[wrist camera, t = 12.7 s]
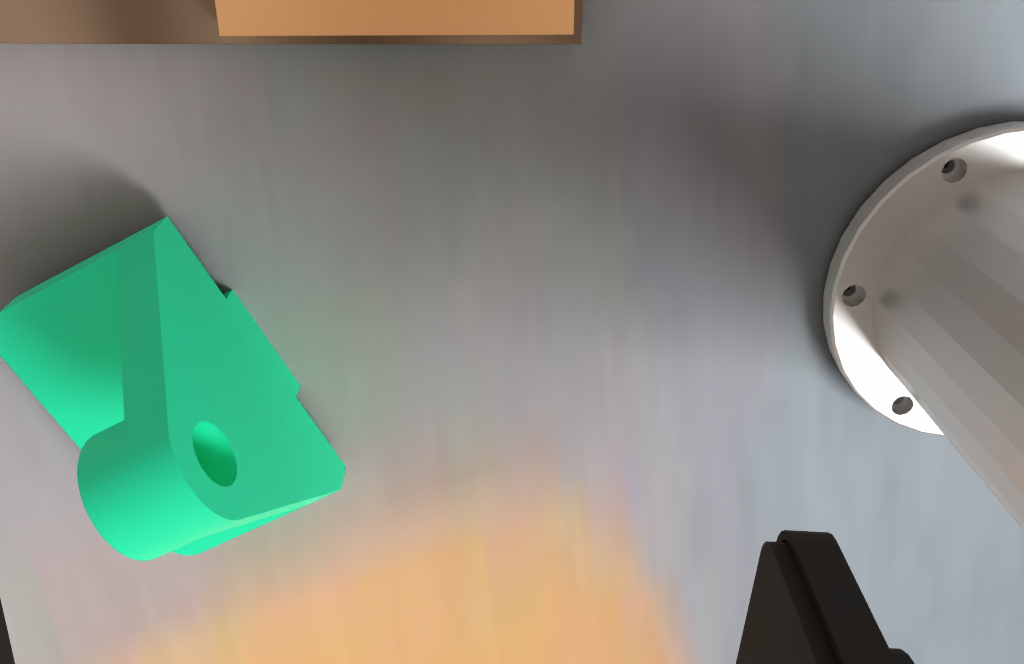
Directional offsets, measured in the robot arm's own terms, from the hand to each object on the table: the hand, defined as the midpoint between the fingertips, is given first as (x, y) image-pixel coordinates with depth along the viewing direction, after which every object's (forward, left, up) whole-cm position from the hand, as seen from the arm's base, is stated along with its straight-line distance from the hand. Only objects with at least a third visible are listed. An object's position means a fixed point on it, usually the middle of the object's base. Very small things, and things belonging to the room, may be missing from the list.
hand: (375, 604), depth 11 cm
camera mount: (+10, +10, -24) cm, 28 cm away
